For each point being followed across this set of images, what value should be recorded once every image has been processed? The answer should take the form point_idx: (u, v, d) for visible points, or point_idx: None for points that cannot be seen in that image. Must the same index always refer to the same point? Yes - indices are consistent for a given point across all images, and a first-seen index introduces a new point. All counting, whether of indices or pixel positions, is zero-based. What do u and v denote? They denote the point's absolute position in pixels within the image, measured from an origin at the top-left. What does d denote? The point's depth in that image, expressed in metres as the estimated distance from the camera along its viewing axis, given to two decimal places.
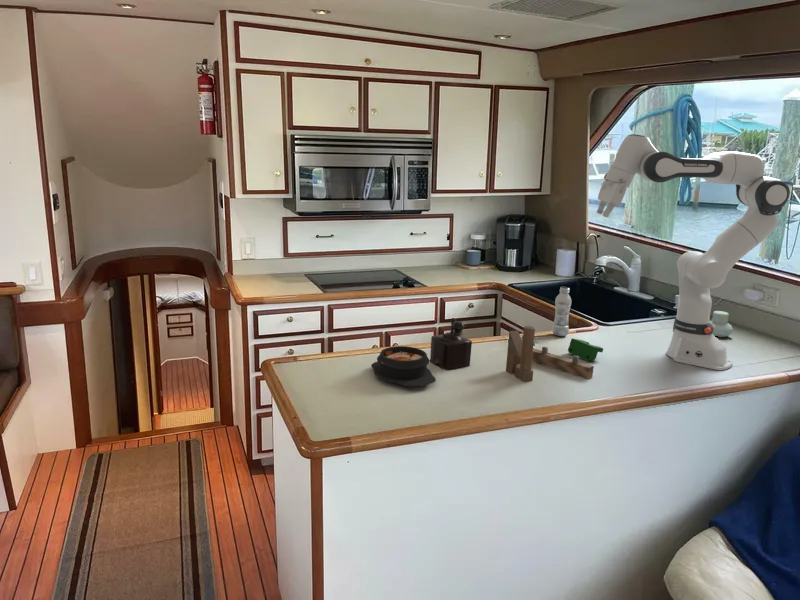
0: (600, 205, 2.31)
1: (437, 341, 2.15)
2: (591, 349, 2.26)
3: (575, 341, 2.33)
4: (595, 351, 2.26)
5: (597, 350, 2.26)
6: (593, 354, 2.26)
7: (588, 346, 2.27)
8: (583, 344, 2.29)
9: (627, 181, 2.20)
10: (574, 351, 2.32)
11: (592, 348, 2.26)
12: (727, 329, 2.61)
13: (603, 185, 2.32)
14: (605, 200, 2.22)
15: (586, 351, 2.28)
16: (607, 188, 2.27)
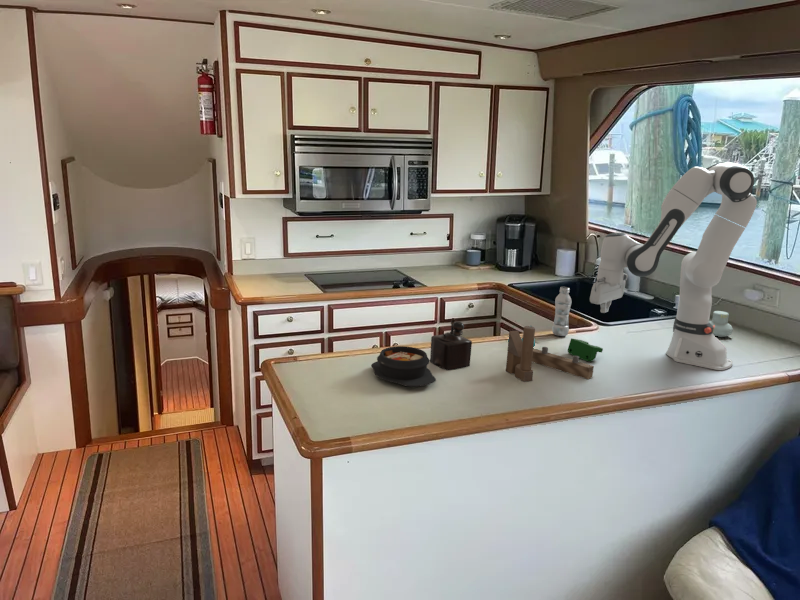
0: (605, 303, 2.38)
1: (437, 341, 2.15)
2: (590, 349, 2.26)
3: (574, 341, 2.32)
4: (594, 351, 2.26)
5: (596, 350, 2.26)
6: (592, 354, 2.26)
7: (587, 346, 2.27)
8: (582, 344, 2.29)
9: (610, 278, 2.29)
10: (574, 351, 2.32)
11: (591, 348, 2.25)
12: (727, 329, 2.61)
13: None
14: None
15: (585, 351, 2.28)
16: None
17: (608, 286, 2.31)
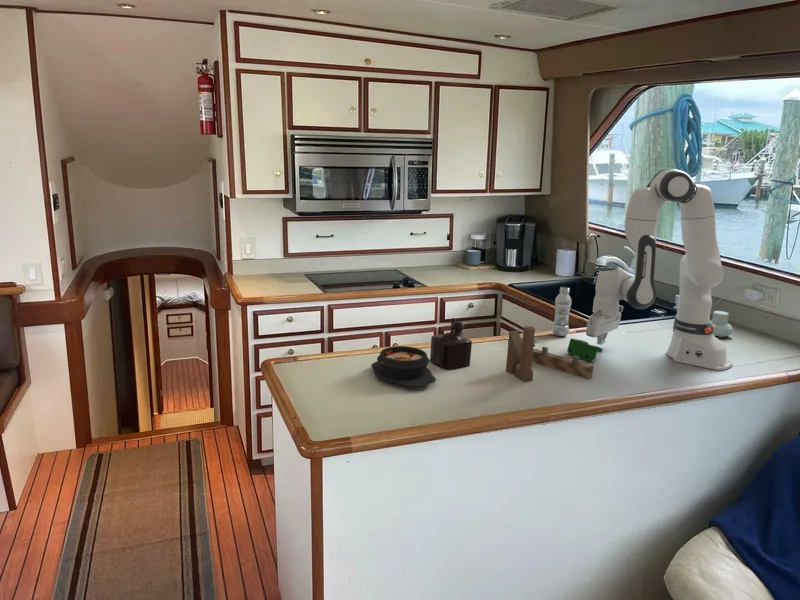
0: (602, 335, 2.40)
1: (437, 341, 2.15)
2: (590, 349, 2.26)
3: (574, 341, 2.32)
4: (594, 351, 2.26)
5: (596, 350, 2.26)
6: (592, 354, 2.26)
7: (587, 346, 2.27)
8: (582, 344, 2.29)
9: (606, 311, 2.32)
10: (573, 351, 2.32)
11: (591, 348, 2.25)
12: (727, 329, 2.61)
13: None
14: None
15: (585, 351, 2.28)
16: None
17: (604, 319, 2.33)
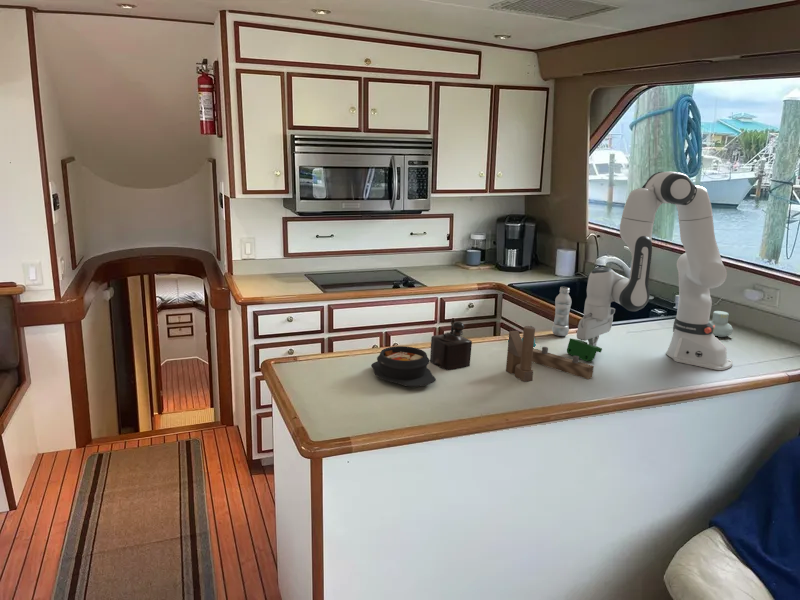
0: (593, 338, 2.36)
1: (437, 341, 2.15)
2: (590, 349, 2.26)
3: (574, 341, 2.32)
4: (594, 351, 2.26)
5: (596, 350, 2.26)
6: (592, 354, 2.26)
7: (587, 346, 2.27)
8: (582, 344, 2.29)
9: (597, 314, 2.28)
10: (573, 351, 2.32)
11: (591, 348, 2.25)
12: (727, 329, 2.61)
13: None
14: None
15: (584, 351, 2.27)
16: None
17: (595, 322, 2.29)
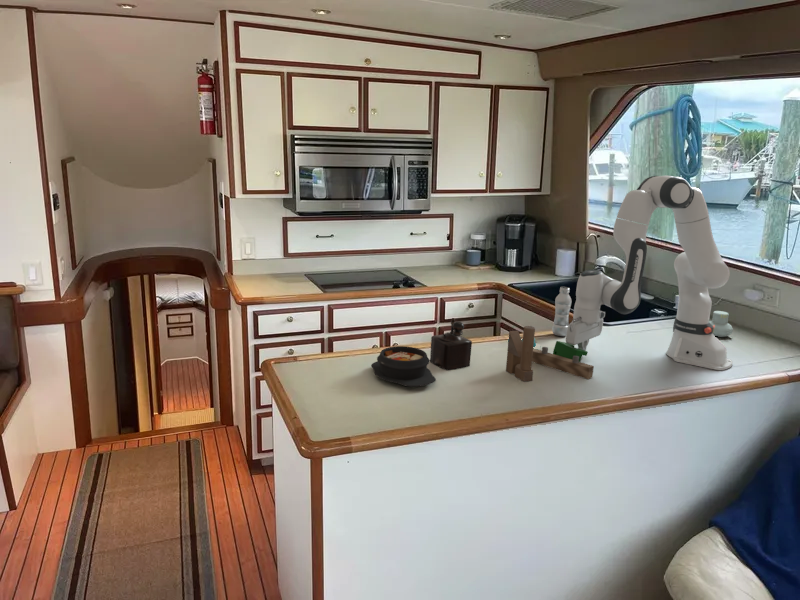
0: None
1: (437, 341, 2.15)
2: (574, 352, 2.21)
3: (559, 344, 2.28)
4: (578, 354, 2.21)
5: (580, 353, 2.22)
6: None
7: (571, 349, 2.23)
8: (567, 347, 2.25)
9: (586, 317, 2.22)
10: (558, 354, 2.28)
11: (575, 351, 2.21)
12: (727, 329, 2.61)
13: None
14: None
15: (569, 354, 2.23)
16: None
17: (584, 326, 2.23)
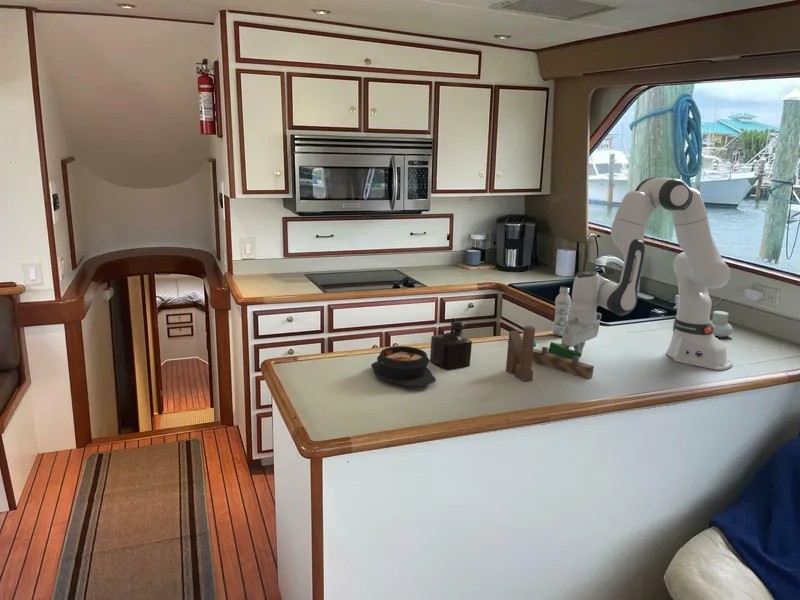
0: None
1: (437, 341, 2.15)
2: (567, 354, 2.20)
3: (554, 345, 2.27)
4: (572, 356, 2.20)
5: (574, 355, 2.20)
6: None
7: (565, 350, 2.21)
8: (561, 348, 2.23)
9: (582, 319, 2.20)
10: None
11: (568, 353, 2.20)
12: (727, 329, 2.61)
13: None
14: None
15: (562, 356, 2.22)
16: None
17: (580, 327, 2.21)
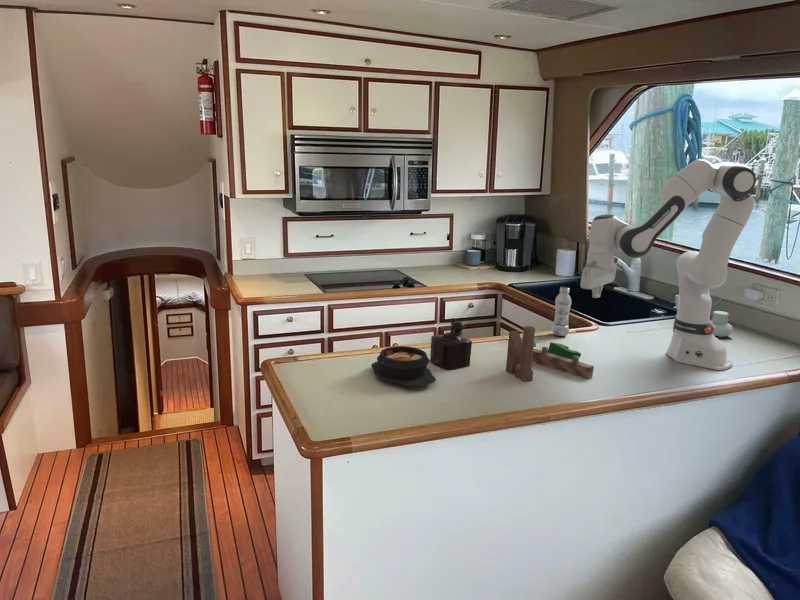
0: None
1: (437, 341, 2.15)
2: (567, 354, 2.20)
3: (553, 345, 2.27)
4: (571, 356, 2.20)
5: (573, 355, 2.20)
6: None
7: (564, 350, 2.21)
8: (560, 348, 2.23)
9: (600, 262, 2.22)
10: None
11: (568, 353, 2.20)
12: (727, 329, 2.61)
13: None
14: None
15: (562, 356, 2.22)
16: None
17: (599, 270, 2.24)
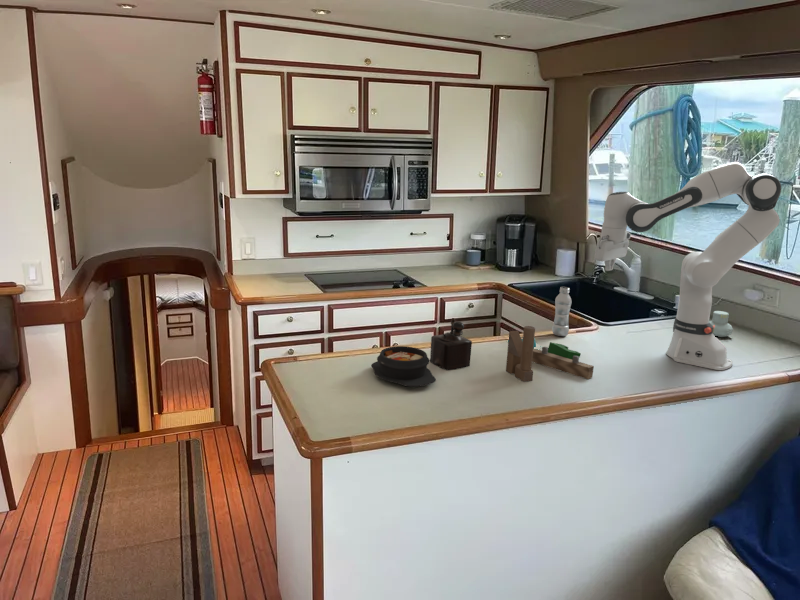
0: (610, 262, 2.44)
1: (437, 341, 2.15)
2: (567, 354, 2.20)
3: (553, 345, 2.27)
4: (571, 356, 2.20)
5: (573, 355, 2.20)
6: None
7: (564, 350, 2.21)
8: (560, 348, 2.23)
9: (614, 236, 2.36)
10: None
11: (567, 353, 2.19)
12: (727, 329, 2.61)
13: None
14: None
15: (562, 356, 2.22)
16: None
17: (612, 244, 2.37)
